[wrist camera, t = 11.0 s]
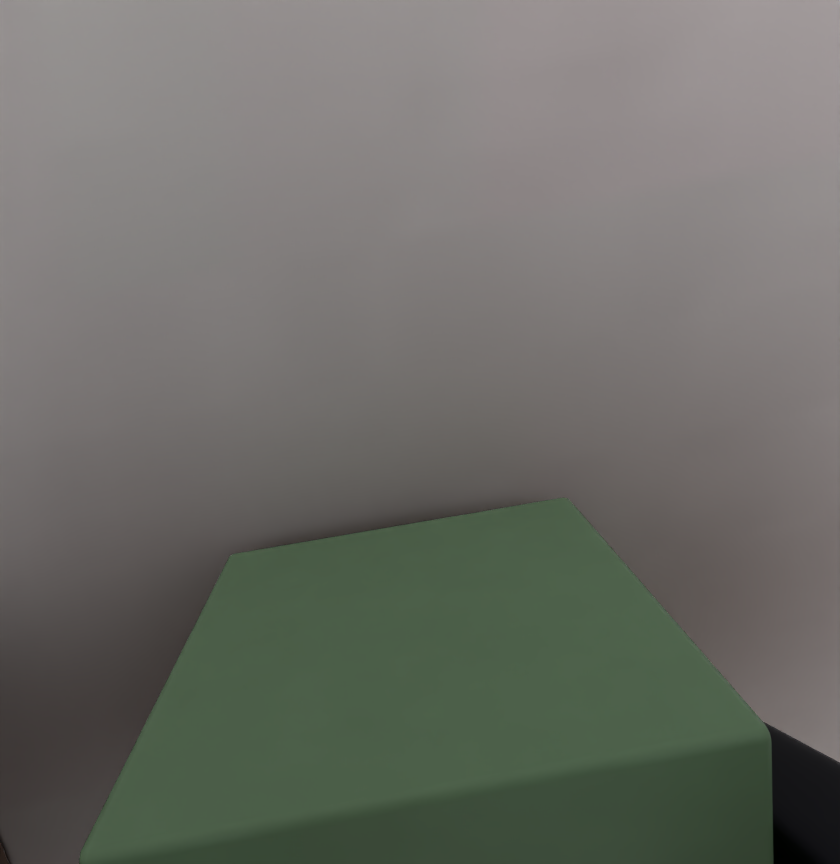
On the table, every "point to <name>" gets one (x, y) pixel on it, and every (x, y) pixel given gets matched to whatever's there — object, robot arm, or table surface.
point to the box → (3, 856)
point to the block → (442, 712)
